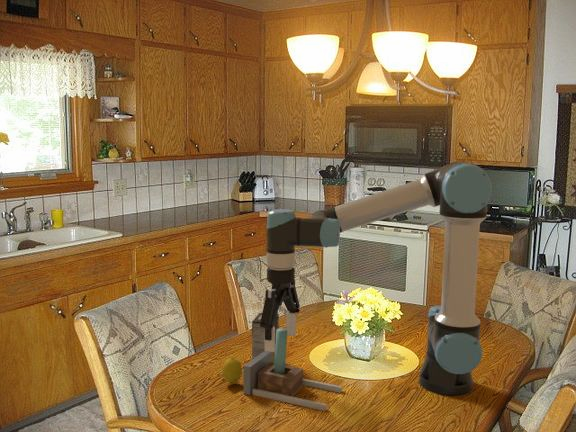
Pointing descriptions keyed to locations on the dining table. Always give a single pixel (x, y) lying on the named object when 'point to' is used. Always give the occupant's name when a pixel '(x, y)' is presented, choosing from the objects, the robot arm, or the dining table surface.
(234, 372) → the lemon
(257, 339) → the coffee box
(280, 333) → the dowel
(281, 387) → the socket block
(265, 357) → the slide base
